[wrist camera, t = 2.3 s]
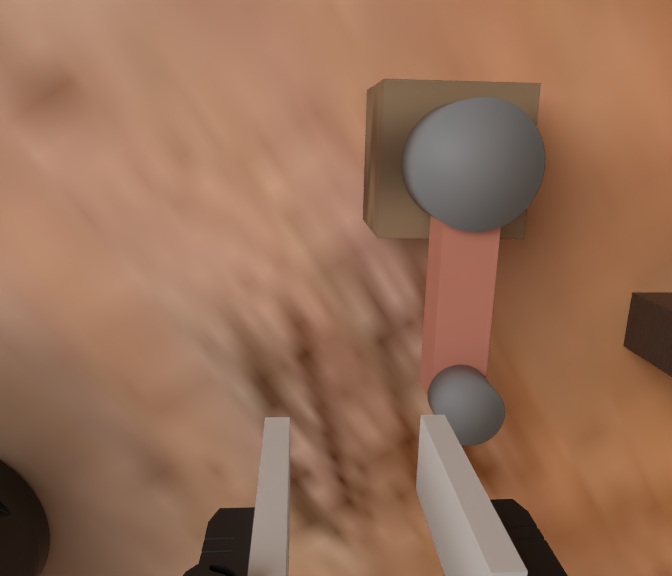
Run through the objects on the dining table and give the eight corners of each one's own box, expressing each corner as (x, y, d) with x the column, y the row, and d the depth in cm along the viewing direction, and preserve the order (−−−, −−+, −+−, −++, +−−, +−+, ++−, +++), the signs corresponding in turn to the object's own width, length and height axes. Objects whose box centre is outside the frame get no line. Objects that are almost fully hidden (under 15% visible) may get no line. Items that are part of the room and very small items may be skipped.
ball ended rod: (404, 100, 28) (429, 91, 22) (521, 103, 28) (573, 95, 23) (389, 396, 32) (408, 446, 27) (492, 394, 32) (529, 444, 27)
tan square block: (482, 220, 37) (523, 239, 30) (362, 219, 36) (377, 238, 30) (493, 93, 35) (540, 83, 28) (367, 90, 34) (384, 78, 27)
